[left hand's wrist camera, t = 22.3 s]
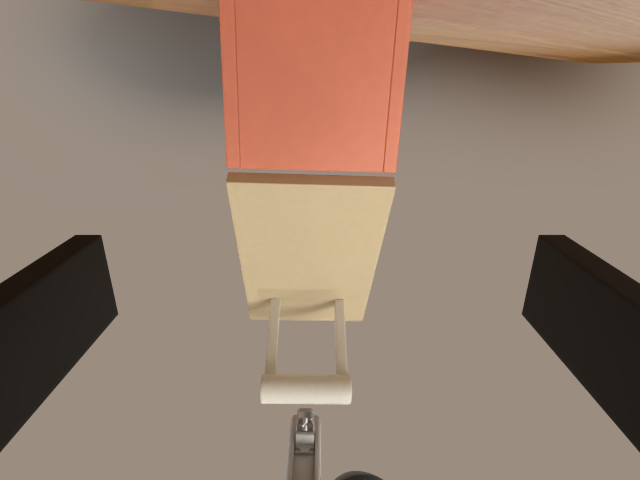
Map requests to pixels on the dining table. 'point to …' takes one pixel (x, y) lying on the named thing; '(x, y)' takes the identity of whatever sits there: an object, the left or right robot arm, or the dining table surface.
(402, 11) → the chest
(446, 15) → the dining table surface
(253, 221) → the lid
